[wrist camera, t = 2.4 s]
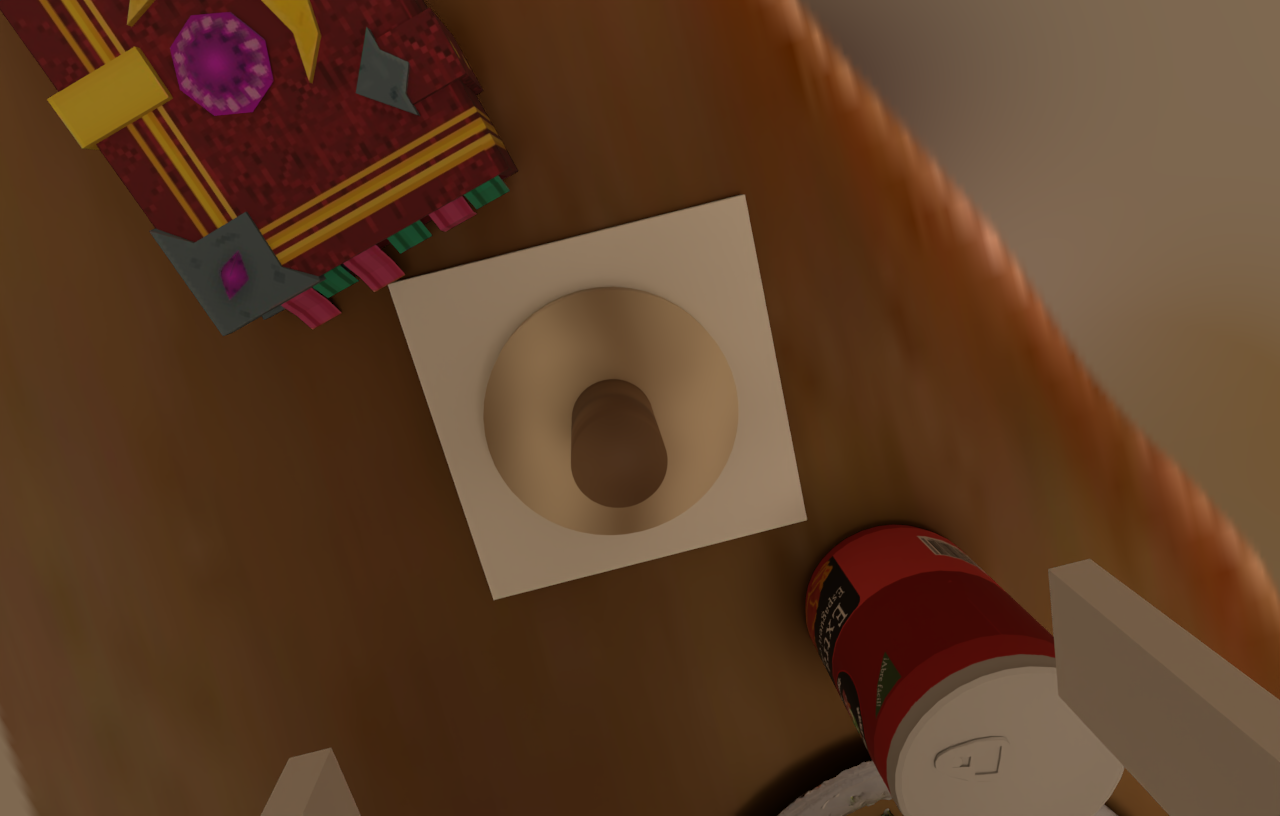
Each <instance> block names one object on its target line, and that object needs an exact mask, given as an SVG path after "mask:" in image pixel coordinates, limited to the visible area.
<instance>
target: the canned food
mask: <svg viewBox="0 0 1280 816" xmlns="http://www.w3.org/2000/svg"><path fill="white" fill-rule="evenodd" d="M805 609H806V624H807V628H808V631H809V635H810V638H811V639H812V641H813V643H814V645H815V647H816V649H817V651H818V653H819V655H820V657H821V659H822V661H823V663H824V665H825V667H826V669H827V671H828V673H829V675H830V677H831V679H832V681H833V683H834V685H835V687H836V689H837V691H838V693H839V695H840V697H841V699H842V701H843V703H844V705H845V707H846V709H847V711H848V713H849V715H850V717H851V719H852V721H853V723H854V725H855V727H856V729H857V731H858V733H859V735H860V737H861V739H862V741H863V743H864V745H865V746H866V748H867V750H868V752H869V754H870V756H871V758H872V760H873V762H874V764H875V766H876V768H877V770H878V772H879V774H880V776H881V778H882V779H883V781H884V783H885V785H886V786H887V788H888V790H889V792H890V794H891V796H892V798H893V800H894V801H895V803H896V805H897V807H898V808H899V810H900V812H901V813H902V814H903V815H904V816H1093V815H1094V814H1096V813H1097V812H1098V811H1099V809H1100V808H1101V807H1102V806H1103V805H1104V803H1105V802H1106V801H1107V800H1108V799H1109V797H1110V796H1111V795H1112V793H1113V791H1114V789H1115V788H1116V786H1117V784H1118V782H1119V781H1120V779H1121V776H1122V773H1123V770H1124V766H1123V765H1122V764H1121V763H1120V761H1119V760H1118V759H1117V758H1116V757H1115V756H1114V755H1113V754H1112V753H1111V752H1110V751H1109V750H1108V749H1107V747H1106V746H1105V745H1104V744H1103V743H1102V742H1101V741H1100V740H1099V739H1098V738H1097V737H1096V736H1095V735H1094V733H1093V732H1092V731H1091V730H1090V729H1089V728H1088V727H1087V726H1086V725H1085V724H1084V723H1083V722H1082V721H1081V719H1080V718H1079V717H1078V716H1077V715H1076V714H1075V713H1074V712H1073V711H1072V710H1071V709H1070V708H1069V706H1068V705H1067V704H1066V703H1065V702H1064V701H1063V700H1062V699H1061V698H1060V697H1059V696H1058V684H1057V671H1056V659H1055V647H1054V637H1053V636H1052V635H1051V634H1050V633H1049V632H1048V631H1047V630H1046V629H1045V628H1043V627H1042V626H1041V625H1040V624H1039V623H1038V622H1037V621H1036V620H1035V619H1034V618H1033V617H1032V616H1031V615H1030V614H1029V613H1028V612H1027V611H1025V610H1024V609H1023V608H1022V607H1021V606H1020V605H1019V604H1018V603H1017V602H1016V601H1015V600H1014V599H1013V598H1012V597H1011V596H1010V595H1009V594H1007V593H1006V592H1005V591H1004V590H1003V589H1002V588H1001V587H1000V586H999V585H998V584H997V583H996V582H995V581H994V580H993V579H992V578H990V577H989V576H988V575H987V574H986V573H985V572H984V571H983V570H982V569H981V568H980V567H979V566H978V565H977V564H976V563H975V562H974V561H972V560H971V559H970V558H969V557H968V556H967V555H966V554H965V553H964V552H963V551H962V550H961V549H960V548H958V547H957V546H956V545H955V544H953V543H952V542H951V541H949V540H948V539H946V538H944V537H942V536H940V535H938V534H936V533H934V532H931V531H928V530H925V529H921V528H917V527H913V526H909V525H885V526H877V527H873V528H870V529H866V530H863V531H860V532H858V533H856V534H854V535H852V536H850V537H848V538H846V539H845V540H843V541H842V542H841V543H839V544H838V545H836V546H835V547H834V548H833V549H832V550H831V551H830V552H829V553H828V554H827V555H826V556H825V557H824V558H823V559H822V560H821V562H820V563H819V565H818V566H817V568H816V569H815V571H814V572H813V575H812V577H811V580H810V582H809V584H808V589H807V594H806V607H805Z"/></svg>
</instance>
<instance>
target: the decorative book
mask: <svg viewBox="0 0 1280 816" xmlns="http://www.w3.org/2000/svg"><path fill="white" fill-rule="evenodd" d="M0 10H1V12H2V13H3V14H4V16H5V17H6V19H7V20H8V21H9V23H10V24H11V26H12V27H13V28H14V30H15V31H16V33H17V34H18V35H19V37H20V38H21V40H22V41H23V43H24V44H25V45H26V47H27V48H28V50H29V51H30V52H31V54H32V55H33V57H34V58H35V59H36V61H37V62H38V64H39V65H40V66H41V68H42V69H43V71H44V72H45V73H46V75H47V76H48V78H49V79H50V81H51V82H52V83H53V85H54V86H55V88H56V89H57V90H58V93H57V94H55V95H53V96H52V97H50V98H48V99H47V100H48V102H49V103H50V104H51V106H52V107H53V109H54V110H55V111H56V113H57V114H58V116H59V117H60V118H61V120H62V121H63V122H64V124H65V125H66V127H67V128H68V129H69V131H70V132H71V134H72V135H73V136H74V138H75V139H76V141H77V142H78V143H79V145H80V146H81V148H82V149H93V150H100V151H101V152H102V154H103V155H104V157H105V158H106V159H107V161H108V162H109V164H110V165H111V166H112V168H113V169H114V171H115V172H116V173H117V175H118V176H119V178H120V179H121V180H122V182H123V183H124V185H125V186H126V187H127V189H128V190H129V192H130V193H131V195H132V196H133V197H134V199H135V200H136V202H137V203H138V204H139V206H140V207H141V209H142V210H143V211H144V213H145V214H146V216H147V217H148V218H149V220H150V221H151V223H152V224H153V226H154V227H155V228H156V229H153V230H151V231H149V232H150V233H151V234H152V236H153V237H154V239H155V240H156V241H157V243H158V244H159V246H160V247H161V249H162V250H163V251H164V253H165V254H166V256H167V257H168V259H169V260H170V261H171V263H172V264H173V266H174V267H175V269H176V270H177V271H178V273H179V274H180V276H181V277H182V279H183V280H184V281H185V283H186V284H187V286H188V287H189V288H190V290H191V291H192V293H193V294H194V296H195V297H196V298H197V300H198V301H199V303H200V304H201V306H202V307H203V308H204V310H205V311H206V313H207V314H208V316H209V317H210V318H211V320H212V321H213V323H214V324H215V326H216V327H217V328H218V330H219V331H220V333H221V334H222V335H223V336H225V335H228V334H230V333H233V332H235V331H236V330H238V329H240V328H242V327H243V326H245V325H247V324H249V323H250V322H252V321H254V320H256V319H257V318H259V317H261V316H262V317H263V319H264V320H265V319H267V318H270V317H272V316H274V315H275V314H277V313H279V312H281V311H282V310H284V309H287V310H288V311H290V312H292V313H293V314H295V315H296V316H298V317H299V318H300V319H301V320H302V321H303V322H304V323H306V324H307V325H308V326H309V327H310V328H311V329H312V330H313V329H314V328H316V327H318V326H320V325H322V324H323V323H325V322H327V321H329V320H331V319H332V318H334V317H336V316H338V315H339V314H341V312H340V311H339V310H338V309H337V308H336V307H335V306H334V305H333V304H332V303H331V302H330V301H329V300H328V299H326V298H325V297H324V296H326V297H327V298H329V297H331V296H333V295H335V294H336V293H338V292H340V291H342V290H343V289H345V288H347V287H349V286H350V285H352V284H354V283H356V282H358V281H359V280H357V279H356V278H355V277H354V276H352V275H351V274H350V273H348V272H350V271H352V272H354V273H355V274H356V275H357V276H359V277H360V278H361V279H362V280H363V281H364V282H365V283H366V284H367V285H368V286H369V287H370V288H371V289H372V290H373V291H374V292H376V291H378V290H380V289H381V288H383V287H385V286H387V285H388V284H390V283H392V282H394V281H396V280H397V279H399V278H401V277H403V276H404V275H405V274H404V272H403V271H402V270H401V269H400V268H399V267H398V266H397V265H396V263H395V262H394V261H393V260H392V259H391V258H390V257H389V256H387V255H386V254H385V253H384V252H383V251H382V250H381V249H382V248H383V247H385V246H387V245H389V244H392V245H393V246H394V247H395V248H396V249H397V250H398V252H399V253H400V254H401V253H402V252H404V251H406V250H408V249H410V248H411V247H413V246H415V245H417V244H418V243H420V242H422V241H424V240H425V239H427V238H429V237H431V236H432V234H431V233H430V232H429V231H428V230H427V228H426V227H425V226H424V224H426V223H428V222H429V221H431V220H433V221H434V222H435V224H436V225H437V226H438V227H439V229H440V230H441V231H445V232H446V231H448V230H449V229H451V228H453V227H455V226H457V225H458V224H460V223H462V222H464V221H465V220H467V219H469V218H471V217H472V216H474V215H476V214H477V213H475V212H473V210H472V209H471V208H470V206H469V205H468V203H467V202H466V200H469V201H470V203H471V204H472V205H473V206H474V207H475V208H476V209H479V208H480V207H482V206H484V205H486V204H487V203H489V202H491V201H493V200H494V199H496V198H498V197H500V196H502V195H503V194H505V193H507V192H509V191H510V190H509V189H508V187H507V186H506V184H505V183H504V182H503V180H504V179H505V178H507V177H509V176H511V175H512V174H514V173H516V172H518V170H517V168H516V166H515V164H514V162H513V161H512V159H511V157H510V155H509V153H508V152H507V150H506V148H505V146H504V144H503V143H502V141H501V139H500V137H499V135H498V134H497V132H496V130H495V128H494V126H493V125H492V123H491V121H490V119H489V117H488V116H487V114H486V112H485V110H484V108H483V107H482V105H481V103H480V101H479V99H478V98H477V96H476V95H477V94H479V93H480V92H482V91H483V89H482V87H481V86H480V84H479V82H478V80H477V78H476V77H475V75H474V73H473V71H472V69H471V67H470V66H469V64H468V62H467V60H466V58H465V57H464V55H463V53H462V51H461V49H460V48H459V46H458V44H457V42H456V40H455V39H454V37H453V35H452V34H451V33H450V32H449V30H448V29H447V28H446V27H445V25H444V24H443V23H442V22H441V21H440V19H439V18H438V17H437V16H436V15H435V13H434V12H433V11H432V10H431V9H430V8H427V6H426V4H425V2H424V1H423V0H0ZM316 291H319V292H320V293H322V294H323V295H324V296H322V295H321V294H319V293H318V292H316Z"/></svg>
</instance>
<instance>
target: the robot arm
mask: <svg viewBox="0 0 1280 816" xmlns="http://www.w3.org/2000/svg"><path fill="white" fill-rule="evenodd" d="M1048 573H1049V585H1050V597H1051V610H1052V622H1053V634H1054V647H1055V659H1056V671H1057V684H1058V696H1059V697H1060V698H1061V699H1062V700H1063V701H1064V702H1065V703H1066V704H1067V705H1068V706H1069V708H1070V709H1071V710H1072V711H1073V712H1074V713H1075V714H1076V715H1077V716H1078V717H1079V718H1080V719H1081V721H1082V722H1083V723H1084V724H1085V725H1086V726H1087V727H1088V728H1089V729H1090V730H1091V731H1092V732H1093V733H1094V735H1095V736H1096V737H1097V738H1098V739H1099V740H1100V741H1101V742H1102V743H1103V744H1104V745H1105V746H1106V747H1107V749H1108V750H1109V751H1110V752H1111V753H1112V754H1113V755H1114V756H1115V757H1116V758H1117V759H1118V760H1119V761H1120V763H1121V764H1122V765H1123V766H1124V767H1125V768H1126V769H1127V770H1128V771H1129V772H1130V773H1131V774H1132V775H1133V777H1134V778H1135V779H1136V780H1137V781H1138V782H1139V783H1140V784H1141V785H1142V786H1143V787H1144V788H1145V790H1146V791H1147V792H1148V793H1149V794H1150V795H1151V796H1152V797H1153V798H1154V799H1155V800H1156V801H1157V802H1158V804H1159V805H1160V806H1161V807H1162V808H1163V809H1164V810H1165V811H1166V812H1167V813H1168V814H1169V815H1170V816H1280V700H1279V699H1277V698H1276V697H1274V696H1273V695H1272V694H1270V693H1269V692H1268V691H1266V690H1265V689H1264V688H1262V687H1261V686H1260V685H1258V684H1257V683H1256V682H1254V681H1253V680H1252V679H1250V678H1249V677H1248V676H1246V675H1245V674H1244V673H1242V672H1241V671H1240V670H1238V669H1237V668H1236V667H1234V666H1233V665H1232V664H1230V663H1229V662H1228V661H1226V660H1225V659H1223V658H1222V657H1221V656H1219V655H1218V654H1217V653H1215V652H1214V651H1213V650H1211V649H1210V648H1209V647H1207V646H1206V645H1205V644H1203V643H1202V642H1201V641H1199V640H1198V639H1197V638H1195V637H1194V636H1193V635H1191V634H1190V633H1189V632H1187V631H1186V630H1185V629H1183V628H1182V627H1181V626H1179V625H1178V624H1177V623H1175V622H1174V621H1172V620H1171V619H1170V618H1168V617H1167V616H1166V615H1164V614H1163V613H1162V612H1160V611H1159V610H1158V609H1156V608H1155V607H1154V606H1152V605H1151V604H1150V603H1148V602H1147V601H1146V600H1144V599H1143V598H1142V597H1140V596H1139V595H1138V594H1136V593H1135V592H1134V591H1132V590H1131V589H1130V588H1128V587H1127V586H1126V585H1124V584H1123V583H1121V582H1120V581H1119V580H1117V579H1116V578H1115V577H1113V576H1112V575H1111V574H1109V573H1108V572H1107V571H1105V570H1104V569H1103V568H1101V567H1100V566H1099V565H1097V564H1096V563H1095V562H1093V561H1092V560H1091V559H1087V560H1083V561H1079V562H1075V563H1071V564H1067V565H1063V566H1059V567H1055V568H1051V569H1048ZM261 816H361V815H360V813H359V810H358V808H357V806H356V804H355V801H354V799H353V797H352V794H351V792H350V790H349V787H348V785H347V783H346V780H345V778H344V776H343V773H342V771H341V769H340V767H339V764H338V762H337V760H336V757H335V755H334V753H333V750H332V748H328V749H324V750H320V751H316V752H312V753H308V754H304V755H300V756H296V757H292V758H289V760H288V762H287V764H286V766H285V768H284V770H283V772H282V774H281V776H280V778H279V780H278V782H277V784H276V786H275V788H274V790H273V792H272V794H271V796H270V798H269V800H268V802H267V804H266V806H265V808H264V810H263V812H262V814H261Z"/></svg>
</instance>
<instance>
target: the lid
mask: <svg viewBox="0 0 1280 816" xmlns="http://www.w3.org/2000/svg"><path fill="white" fill-rule="evenodd" d="M483 420H484V430H485V437H486V441H487V445H488V449H489V452H490V455H491V457H492V460H493V462H494V465H495V467H496V468H497V470H498V472H499V474H500V475H501V477H502V479H503V480H504V482H505V483H506V484H507V486H508V487H509V488H510V490H511V491H512V492H513V493H514V494H515V495H516V496H517V497H518V498H519V499H520V500H521V501H522V502H523V503H524V504H525V505H526V506H528V507H529V508H530V509H531V510H533V511H534V512H535V513H537V514H539V515H540V516H542V517H544V518H545V519H547V520H549V521H551V522H553V523H555V524H557V525H560V526H562V527H565V528H568V529H571V530H575V531H578V532H583V533H589V534H595V535H622V534H630V533H635V532H641V531H644V530H647V529H651V528H654V527H657V526H659V525H661V524H664V523H666V522H668V521H670V520H672V519H674V518H675V517H677V516H679V515H680V514H682V513H684V512H685V511H687V510H688V509H689V508H690V507H692V506H693V505H694V504H695V503H697V502H698V501H699V500H700V499H701V498H702V497H703V496H704V495H705V494H706V493H707V492H708V491H709V489H710V488H711V487H712V485H713V484H714V483H715V482H716V480H717V479H718V478H719V476H720V474H721V472H722V471H723V469H724V467H725V465H726V463H727V461H728V459H729V456H730V454H731V452H732V449H733V445H734V441H735V438H736V433H737V426H738V397H737V390H736V385H735V381H734V378H733V374H732V371H731V369H730V367H729V364H728V362H727V360H726V358H725V356H724V354H723V353H722V351H721V349H720V348H719V346H718V344H717V343H716V342H715V340H714V339H713V338H712V337H711V336H710V334H709V333H708V332H707V331H706V330H705V328H704V327H703V326H702V325H701V324H700V323H699V322H698V321H697V320H696V319H695V318H693V317H692V316H691V315H690V314H689V313H687V312H686V311H685V310H683V309H682V308H680V307H679V306H678V305H676V304H674V303H672V302H670V301H668V300H666V299H664V298H662V297H660V296H657V295H654V294H652V293H649V292H646V291H641V290H637V289H632V288H623V287H597V288H591V289H586V290H580V291H577V292H574V293H571V294H568V295H565V296H562V297H560V298H558V299H556V300H554V301H552V302H550V303H548V304H546V305H545V306H543V307H542V308H540V309H539V310H537V311H536V312H534V313H533V314H532V315H531V316H530V317H528V318H527V319H526V320H525V321H524V322H523V323H522V324H521V325H520V326H519V327H518V328H517V329H516V330H515V332H514V333H513V334H512V335H511V336H510V338H509V339H508V341H507V342H506V344H505V345H504V347H503V348H502V350H501V352H500V354H499V356H498V358H497V360H496V362H495V365H494V367H493V369H492V372H491V375H490V378H489V381H488V384H487V388H486V393H485V399H484V414H483Z"/></svg>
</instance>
